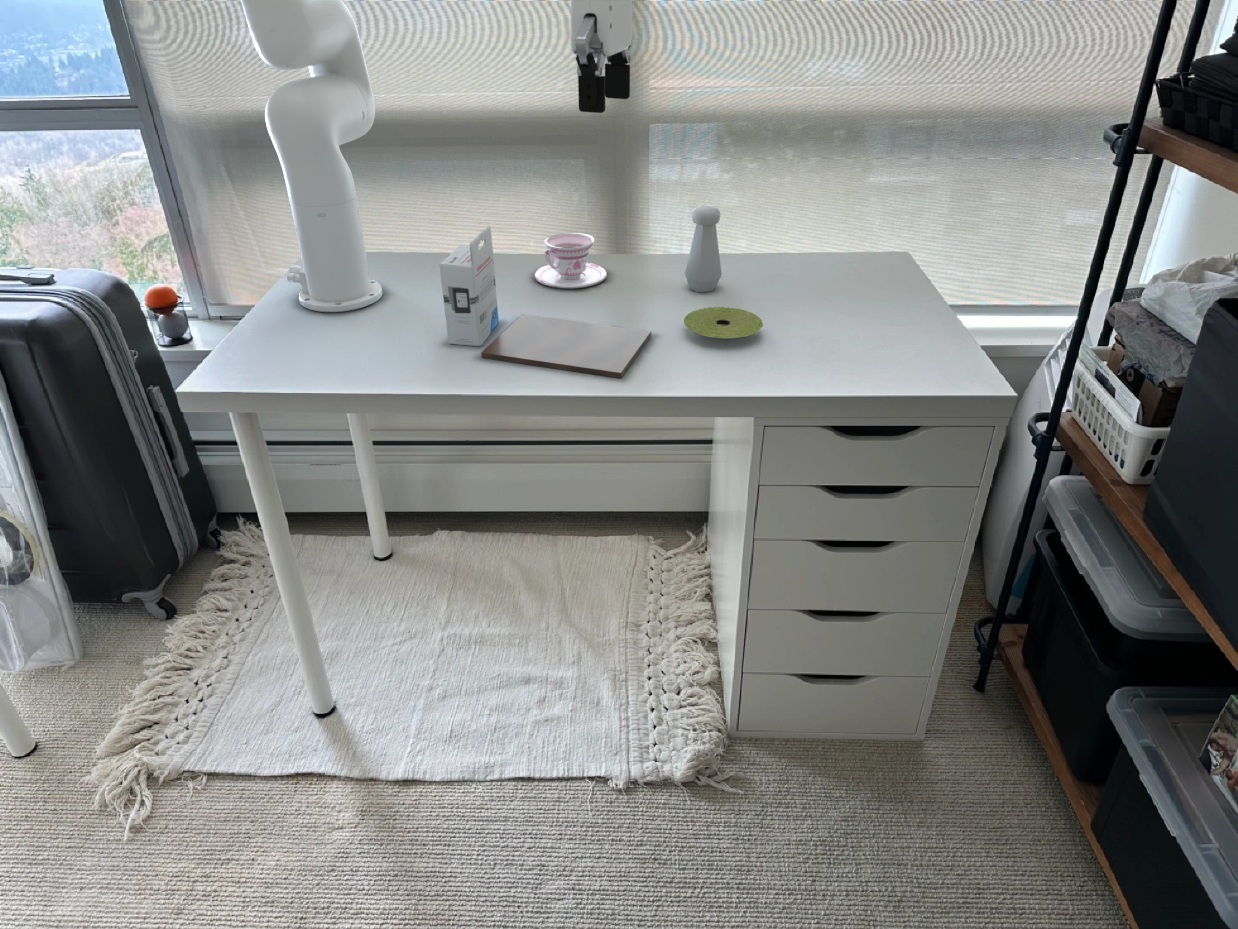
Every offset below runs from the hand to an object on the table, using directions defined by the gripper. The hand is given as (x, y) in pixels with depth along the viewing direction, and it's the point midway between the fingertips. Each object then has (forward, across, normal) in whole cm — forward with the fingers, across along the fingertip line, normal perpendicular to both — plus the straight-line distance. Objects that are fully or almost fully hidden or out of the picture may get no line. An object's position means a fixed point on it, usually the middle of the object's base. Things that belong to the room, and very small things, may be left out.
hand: (605, 104), depth 107 cm
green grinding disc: (+31, -5, +16) cm, 35 cm away
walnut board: (+31, +6, -4) cm, 32 cm away
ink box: (+31, +6, -18) cm, 36 cm away
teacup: (+31, -20, -13) cm, 39 cm away
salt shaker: (+31, -22, +9) cm, 39 cm away
